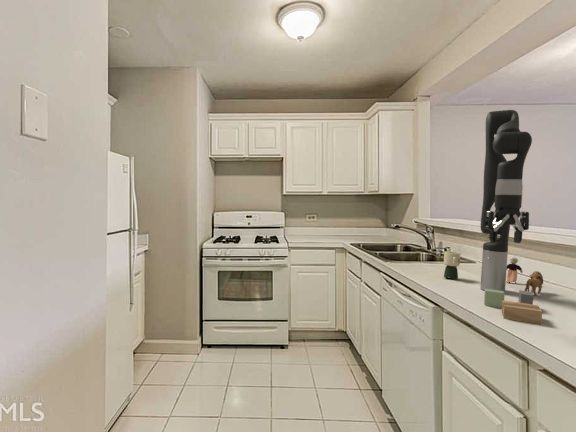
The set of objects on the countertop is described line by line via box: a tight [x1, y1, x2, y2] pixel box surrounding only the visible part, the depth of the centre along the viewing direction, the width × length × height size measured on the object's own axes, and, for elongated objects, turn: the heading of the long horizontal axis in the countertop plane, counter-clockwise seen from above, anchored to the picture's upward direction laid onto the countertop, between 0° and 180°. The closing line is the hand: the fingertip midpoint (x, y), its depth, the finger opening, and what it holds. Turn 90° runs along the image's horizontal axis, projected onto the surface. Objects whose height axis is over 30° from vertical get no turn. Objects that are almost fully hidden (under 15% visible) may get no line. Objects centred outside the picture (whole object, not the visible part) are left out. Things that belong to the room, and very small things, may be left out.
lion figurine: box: [524, 270, 544, 297], centre depth 147 cm, size 15×5×9 cm, turn 137°
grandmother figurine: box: [506, 256, 524, 283], centre depth 166 cm, size 8×4×13 cm, turn 76°
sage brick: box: [483, 289, 506, 309], centre depth 127 cm, size 6×4×6 cm, turn 63°
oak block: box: [501, 299, 543, 325], centre depth 114 cm, size 8×10×4 cm
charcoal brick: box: [518, 289, 534, 305], centre depth 126 cm, size 6×4×6 cm, turn 152°
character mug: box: [443, 250, 461, 280], centre depth 171 cm, size 11×7×13 cm, turn 169°
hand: (505, 242), depth 116 cm, fingers open, 8 cm apart
